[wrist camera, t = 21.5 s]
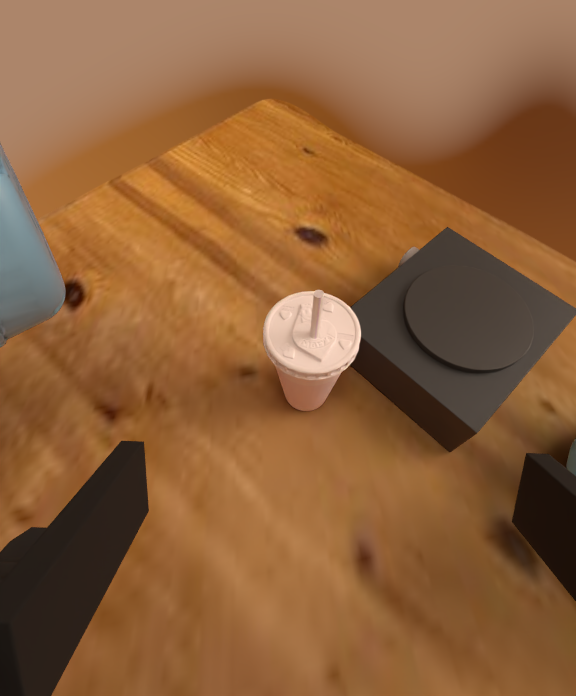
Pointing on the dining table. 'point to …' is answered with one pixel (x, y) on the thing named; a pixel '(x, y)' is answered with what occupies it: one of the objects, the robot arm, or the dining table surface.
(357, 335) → the smoothie
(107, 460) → the robot arm
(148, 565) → the dining table surface
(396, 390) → the hot plate
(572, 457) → the decorative pot
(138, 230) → the dining table surface
